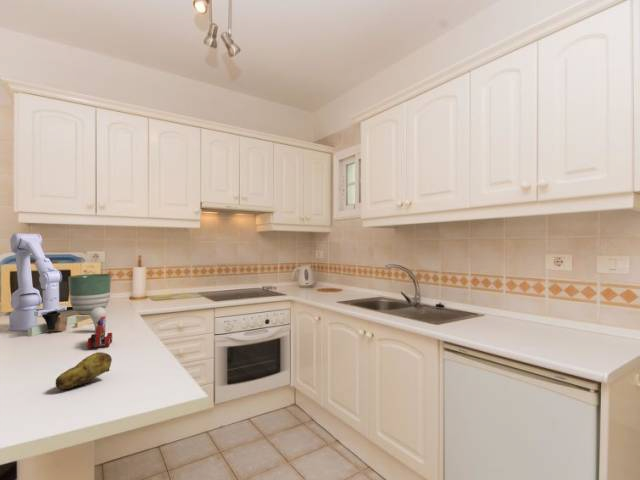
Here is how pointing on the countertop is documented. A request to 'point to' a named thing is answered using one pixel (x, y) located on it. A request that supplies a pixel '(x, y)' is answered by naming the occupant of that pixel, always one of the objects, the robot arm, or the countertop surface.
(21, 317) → the robot arm
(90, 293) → the planter
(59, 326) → the cabinet block
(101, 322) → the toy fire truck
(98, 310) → the lightbulb
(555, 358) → the countertop surface
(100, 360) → the potato
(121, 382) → the countertop surface
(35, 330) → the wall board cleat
